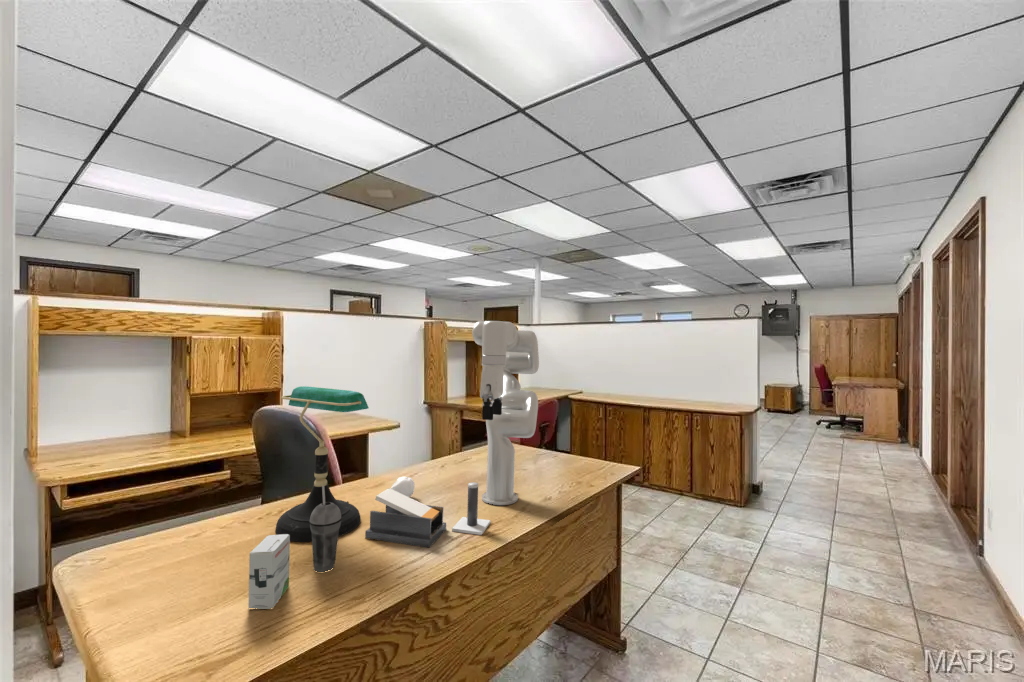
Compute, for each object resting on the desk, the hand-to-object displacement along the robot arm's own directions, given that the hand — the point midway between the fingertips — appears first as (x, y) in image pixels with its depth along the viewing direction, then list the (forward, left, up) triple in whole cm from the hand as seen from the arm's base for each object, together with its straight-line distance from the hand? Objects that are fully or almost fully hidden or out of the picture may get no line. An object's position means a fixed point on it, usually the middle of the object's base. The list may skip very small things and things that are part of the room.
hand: (492, 416), depth 137 cm
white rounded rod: (+5, -4, -31) cm, 32 cm away
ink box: (+52, -33, -32) cm, 70 cm away
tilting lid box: (+15, -20, -32) cm, 41 cm away
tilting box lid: (+15, -20, -24) cm, 35 cm away
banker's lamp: (+17, -47, -32) cm, 60 cm away
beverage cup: (+38, -30, -32) cm, 58 cm away
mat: (+5, -4, -32) cm, 33 cm away
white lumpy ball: (-10, -34, -32) cm, 48 cm away
